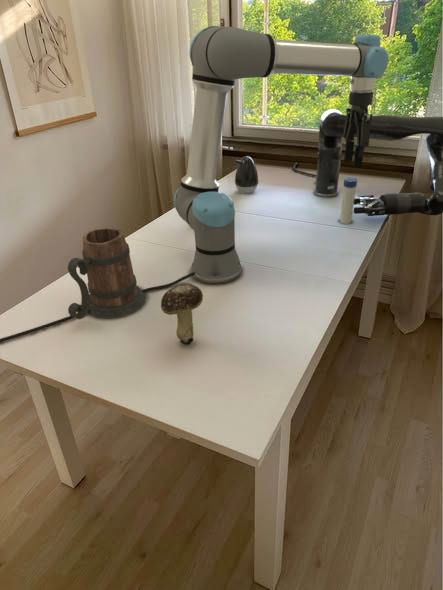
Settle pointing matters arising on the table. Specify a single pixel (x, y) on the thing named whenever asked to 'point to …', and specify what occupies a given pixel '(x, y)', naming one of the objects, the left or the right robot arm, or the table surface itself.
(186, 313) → the mushroom
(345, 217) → the jar
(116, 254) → the tankard
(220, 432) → the table surface
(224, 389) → the table surface
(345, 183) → the lid
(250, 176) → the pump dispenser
